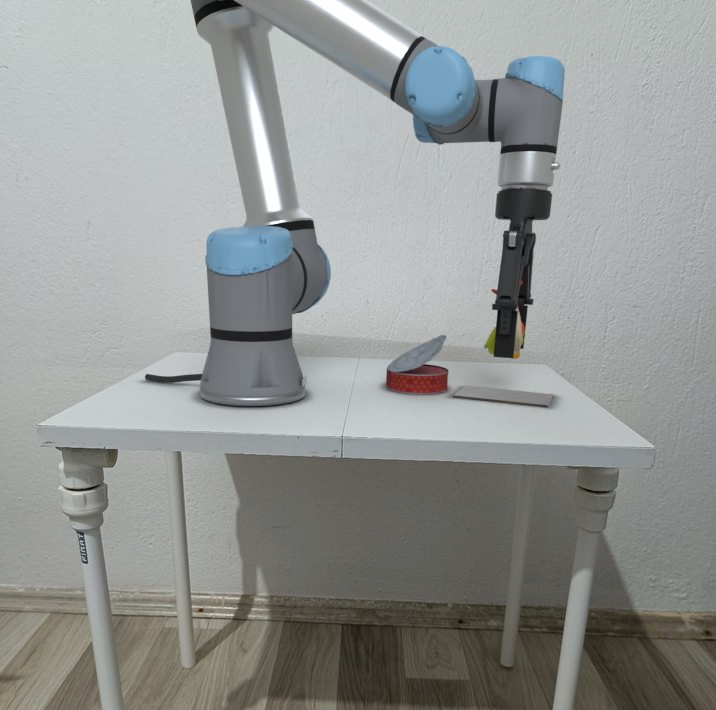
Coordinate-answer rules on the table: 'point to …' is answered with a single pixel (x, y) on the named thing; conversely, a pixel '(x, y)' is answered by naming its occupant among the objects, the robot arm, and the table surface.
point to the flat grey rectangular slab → (505, 396)
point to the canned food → (418, 370)
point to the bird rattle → (518, 336)
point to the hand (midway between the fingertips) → (509, 352)
